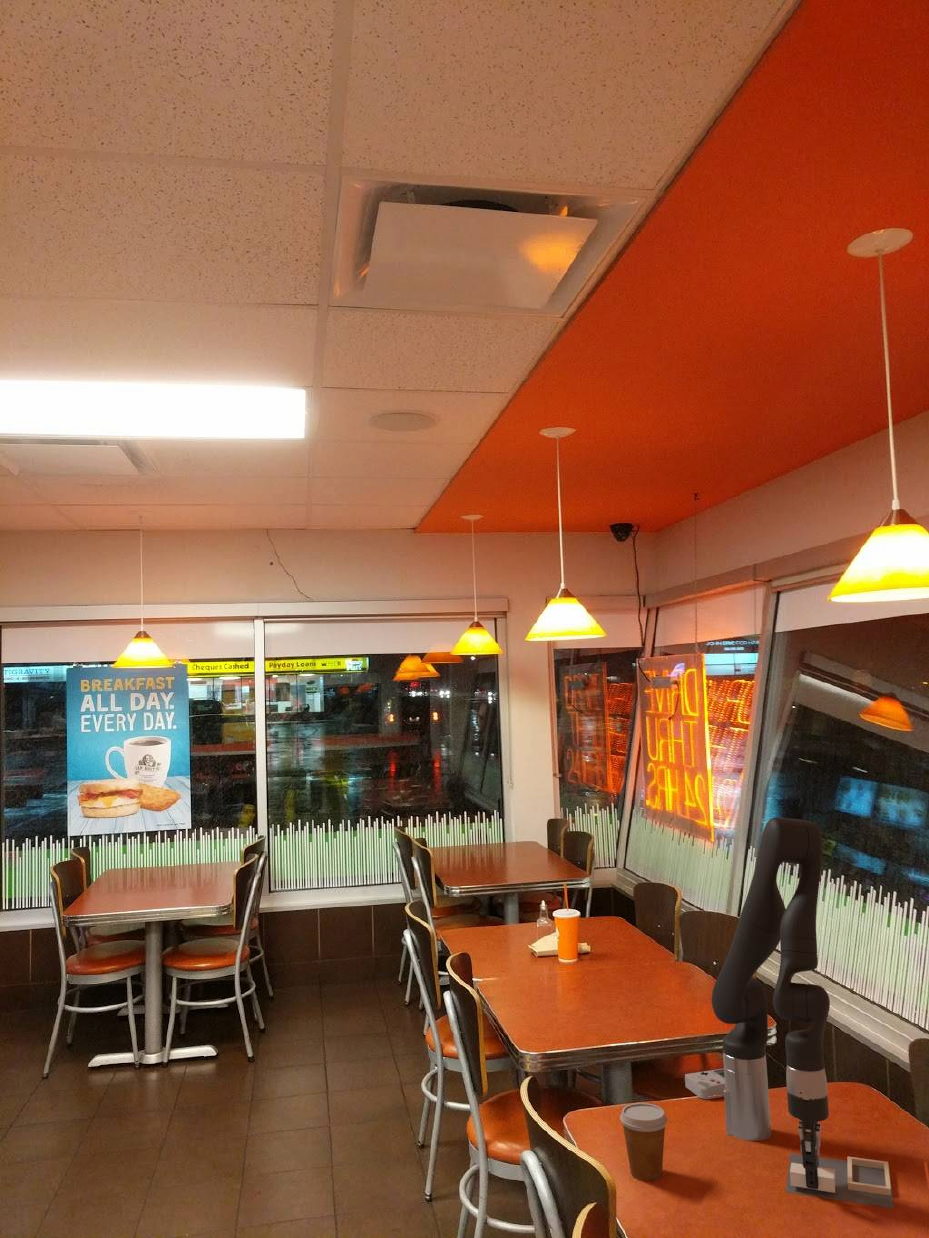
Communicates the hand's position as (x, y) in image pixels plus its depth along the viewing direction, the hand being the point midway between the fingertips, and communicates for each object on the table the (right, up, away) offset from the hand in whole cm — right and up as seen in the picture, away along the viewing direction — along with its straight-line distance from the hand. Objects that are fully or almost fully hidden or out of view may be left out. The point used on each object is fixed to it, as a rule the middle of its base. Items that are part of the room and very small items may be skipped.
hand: (813, 1181), depth 176 cm
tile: (0, 0, 0) cm, 0 cm away
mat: (+6, -2, +3) cm, 7 cm away
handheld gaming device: (-4, -9, +50) cm, 51 cm away
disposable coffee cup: (-31, -4, +9) cm, 32 cm away
